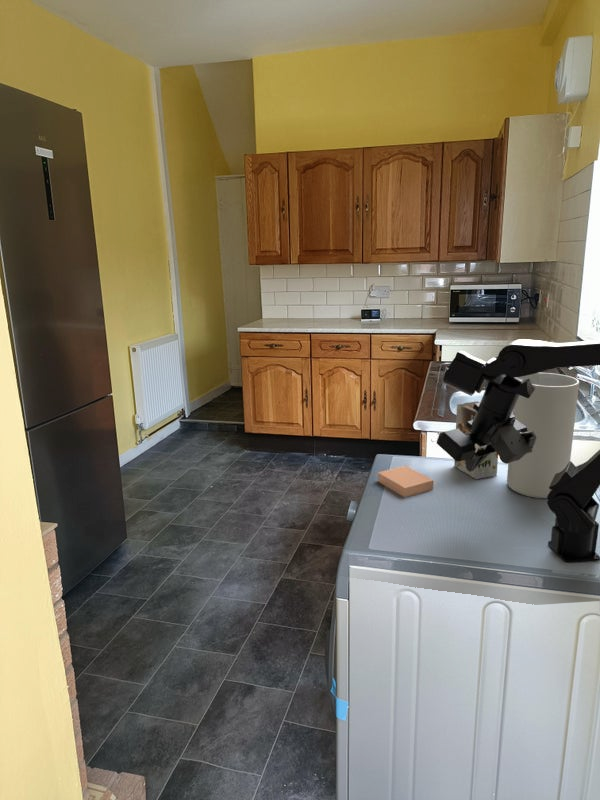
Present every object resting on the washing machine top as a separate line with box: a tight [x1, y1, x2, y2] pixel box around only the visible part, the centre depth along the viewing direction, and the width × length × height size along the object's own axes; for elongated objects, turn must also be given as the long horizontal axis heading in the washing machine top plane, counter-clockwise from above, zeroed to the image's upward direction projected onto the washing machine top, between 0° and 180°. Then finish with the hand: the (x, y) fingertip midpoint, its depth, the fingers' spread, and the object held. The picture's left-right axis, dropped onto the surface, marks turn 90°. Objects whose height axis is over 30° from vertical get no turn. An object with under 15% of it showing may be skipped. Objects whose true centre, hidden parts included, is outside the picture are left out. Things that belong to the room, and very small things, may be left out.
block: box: [377, 465, 434, 498], centre depth 131 cm, size 3×8×10 cm
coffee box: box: [454, 401, 499, 480], centre depth 136 cm, size 9×6×16 cm
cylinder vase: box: [506, 372, 580, 499], centre depth 125 cm, size 12×12×25 cm
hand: (469, 470), depth 112 cm, fingers closed
